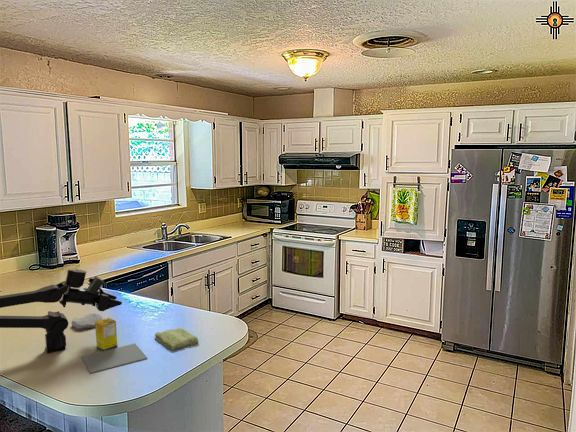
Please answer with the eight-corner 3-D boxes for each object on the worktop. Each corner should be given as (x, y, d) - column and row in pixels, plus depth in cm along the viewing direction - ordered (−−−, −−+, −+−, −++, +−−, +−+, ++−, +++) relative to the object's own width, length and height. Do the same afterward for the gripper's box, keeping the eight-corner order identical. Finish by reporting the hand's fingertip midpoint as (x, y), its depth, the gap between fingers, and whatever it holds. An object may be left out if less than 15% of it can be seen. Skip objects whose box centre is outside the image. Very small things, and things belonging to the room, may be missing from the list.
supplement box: (110, 342, 178) (108, 317, 177) (117, 346, 174) (116, 320, 173) (96, 347, 173) (94, 321, 172) (103, 351, 170) (101, 325, 168)
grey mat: (90, 373, 152) (90, 372, 152) (81, 357, 165) (81, 356, 165) (147, 358, 164) (147, 357, 164) (135, 344, 177) (134, 343, 176)
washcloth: (181, 331, 191) (181, 324, 191) (200, 344, 178) (200, 336, 177) (152, 338, 183) (152, 331, 183) (170, 353, 169) (170, 345, 169)
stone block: (105, 328, 199) (97, 318, 205) (105, 319, 197) (97, 309, 204) (78, 336, 190) (70, 326, 197) (78, 327, 189) (70, 317, 196)
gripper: (89, 281, 168) (129, 286, 177) (80, 272, 184) (118, 277, 193) (82, 309, 168) (122, 313, 177) (74, 298, 183) (111, 302, 192)
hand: (118, 300), depth 184 cm, fingers open, 9 cm apart
